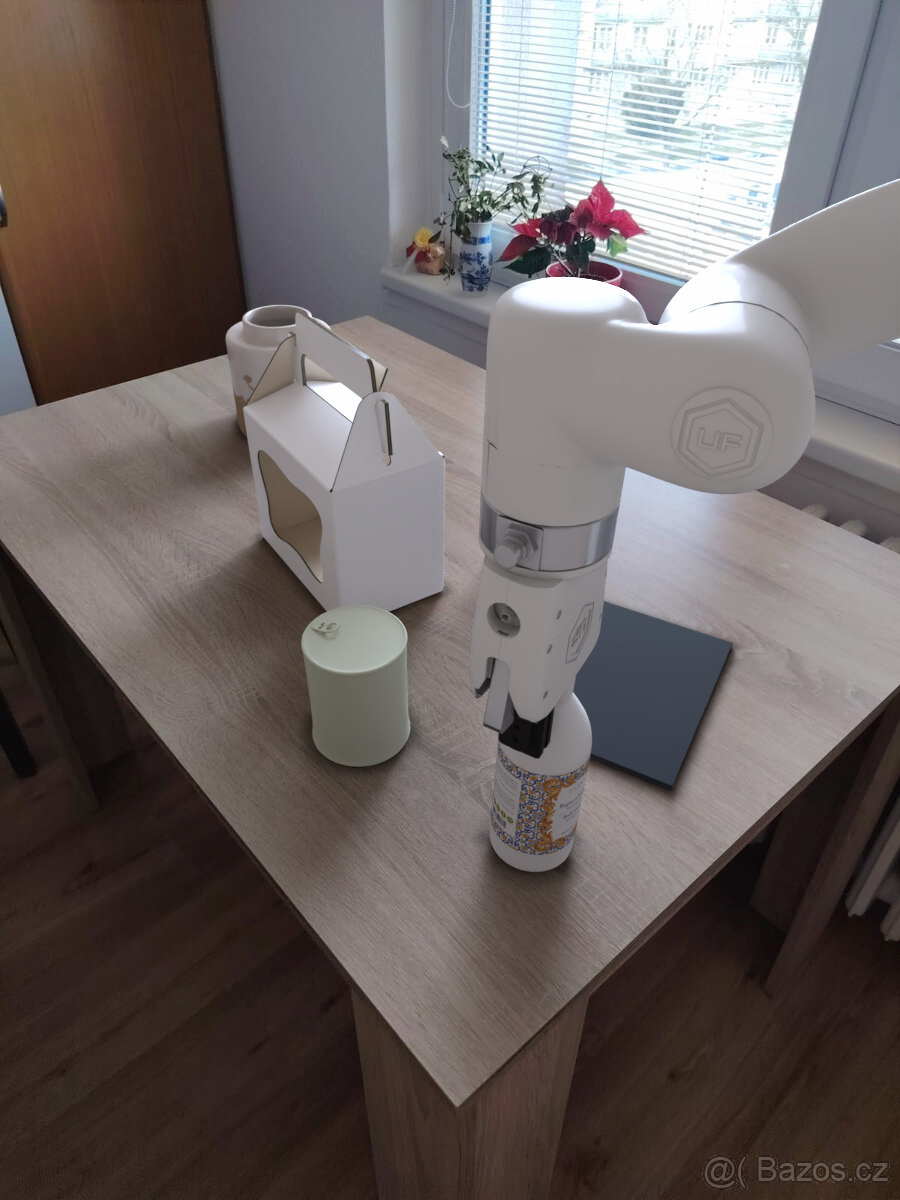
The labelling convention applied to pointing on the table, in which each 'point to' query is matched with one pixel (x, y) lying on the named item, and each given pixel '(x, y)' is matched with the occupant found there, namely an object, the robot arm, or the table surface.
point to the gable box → (344, 475)
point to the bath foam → (542, 792)
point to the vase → (257, 348)
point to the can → (357, 684)
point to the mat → (647, 691)
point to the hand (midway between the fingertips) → (523, 743)
